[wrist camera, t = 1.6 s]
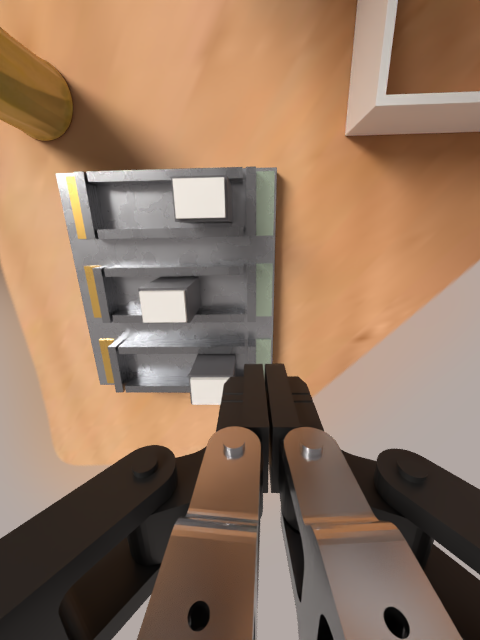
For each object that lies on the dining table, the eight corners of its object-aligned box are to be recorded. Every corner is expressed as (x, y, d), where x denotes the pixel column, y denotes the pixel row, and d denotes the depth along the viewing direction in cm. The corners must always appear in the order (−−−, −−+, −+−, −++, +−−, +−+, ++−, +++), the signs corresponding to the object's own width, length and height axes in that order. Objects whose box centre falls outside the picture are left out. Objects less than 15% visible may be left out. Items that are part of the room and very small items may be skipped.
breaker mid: (159, 277, 27) (136, 289, 21) (199, 276, 27) (185, 288, 21) (162, 305, 28) (141, 324, 22) (201, 305, 27) (188, 324, 22)
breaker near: (187, 188, 24) (169, 175, 18) (231, 187, 24) (226, 173, 18) (190, 223, 25) (173, 221, 19) (232, 222, 25) (228, 220, 19)
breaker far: (199, 349, 29) (187, 377, 23) (235, 349, 29) (232, 377, 23) (201, 373, 30) (190, 406, 24) (236, 373, 30) (233, 406, 24)
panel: (66, 176, 25) (39, 168, 22) (275, 171, 25) (279, 161, 21) (106, 377, 32) (90, 394, 29) (270, 378, 32) (273, 395, 28)
